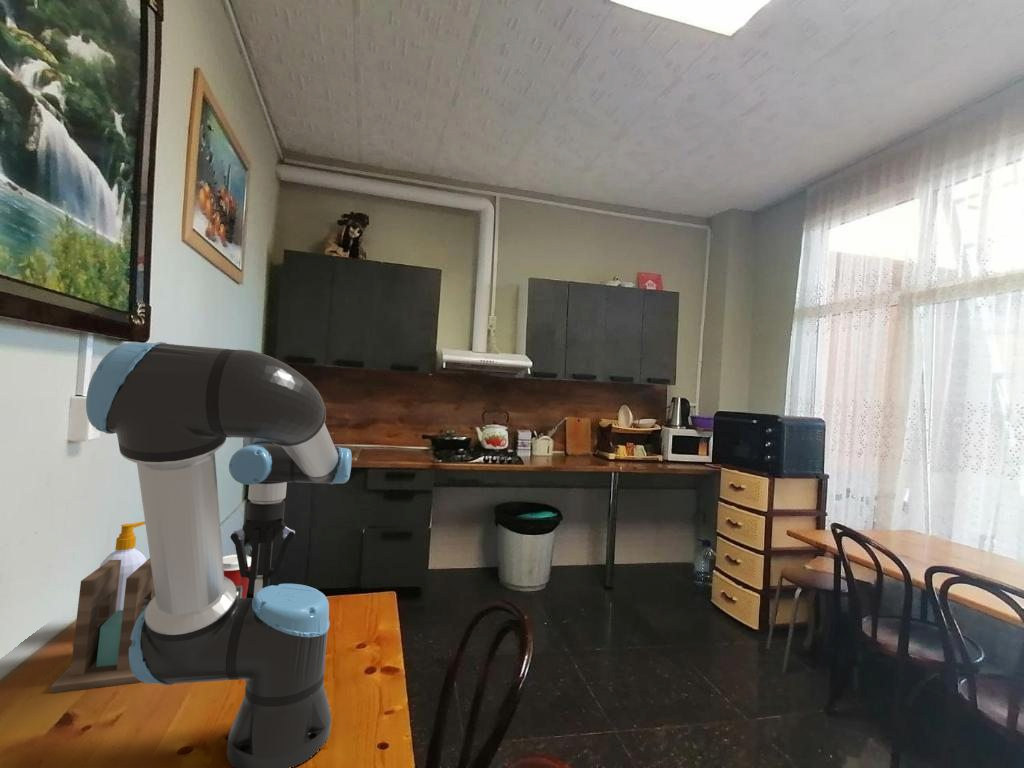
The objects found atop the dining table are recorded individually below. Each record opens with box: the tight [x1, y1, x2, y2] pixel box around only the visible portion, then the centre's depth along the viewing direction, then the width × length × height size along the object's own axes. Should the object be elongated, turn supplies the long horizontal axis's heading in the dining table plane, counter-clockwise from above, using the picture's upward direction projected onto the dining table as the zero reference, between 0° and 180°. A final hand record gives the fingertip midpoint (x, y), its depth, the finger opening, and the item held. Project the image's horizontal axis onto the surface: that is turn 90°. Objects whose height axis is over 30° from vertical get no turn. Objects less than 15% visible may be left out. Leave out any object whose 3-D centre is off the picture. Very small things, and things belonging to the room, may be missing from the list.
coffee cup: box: [223, 554, 251, 598], centre depth 113 cm, size 8×8×15 cm
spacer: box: [96, 610, 123, 667], centre depth 94 cm, size 8×4×8 cm, turn 21°
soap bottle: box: [99, 520, 147, 611], centre depth 106 cm, size 9×9×24 cm
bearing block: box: [49, 557, 155, 694], centre depth 95 cm, size 18×17×18 cm
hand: (257, 607), depth 103 cm, fingers closed
